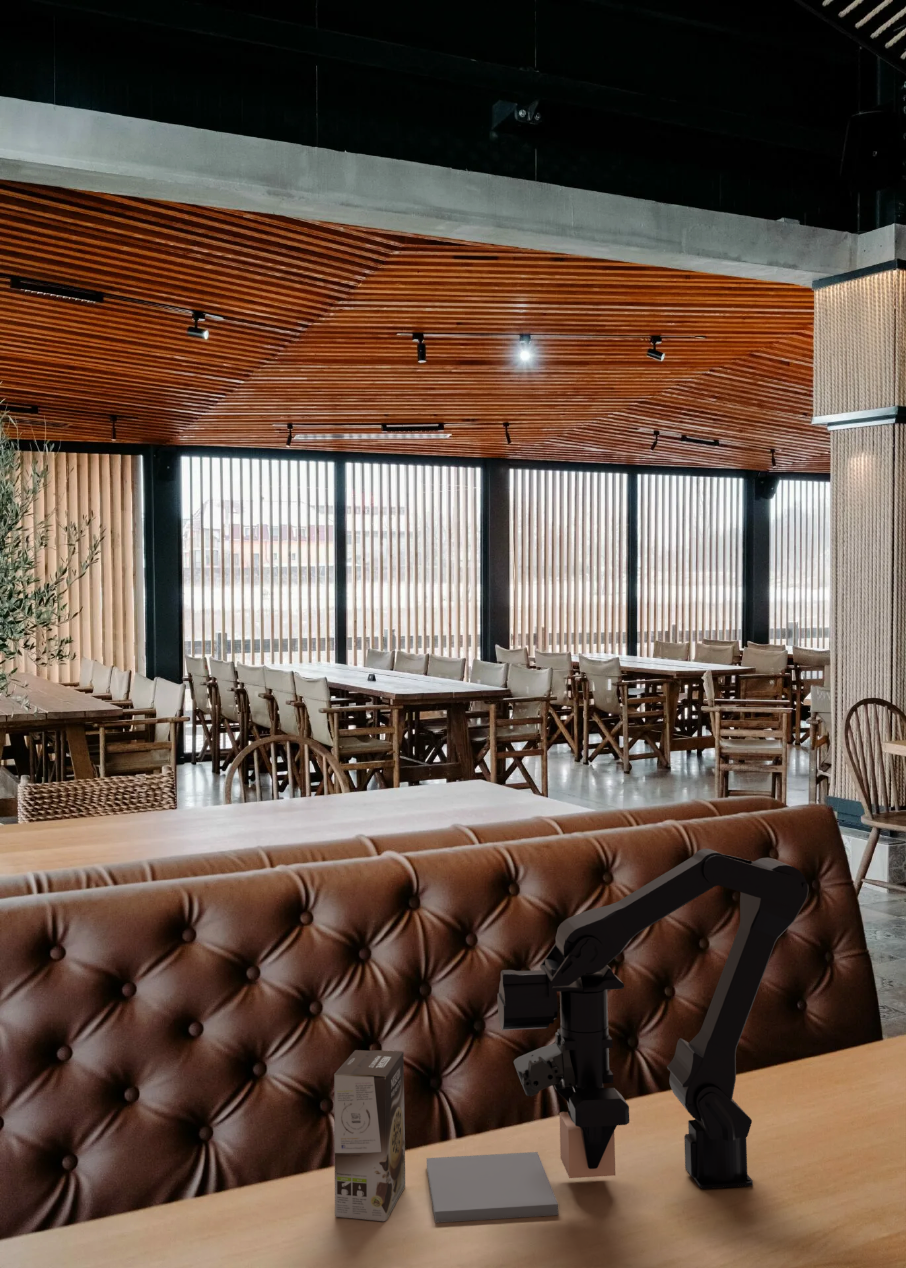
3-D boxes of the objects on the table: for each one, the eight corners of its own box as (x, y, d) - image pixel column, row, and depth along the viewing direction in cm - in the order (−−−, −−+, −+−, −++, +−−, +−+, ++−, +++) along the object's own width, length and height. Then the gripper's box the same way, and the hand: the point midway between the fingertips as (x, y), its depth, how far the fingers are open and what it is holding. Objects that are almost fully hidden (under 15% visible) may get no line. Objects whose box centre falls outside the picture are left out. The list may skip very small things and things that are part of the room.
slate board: (537, 1161, 137) (537, 1151, 137) (558, 1215, 123) (558, 1204, 123) (426, 1168, 136) (426, 1158, 136) (435, 1222, 122) (434, 1211, 122)
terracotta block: (604, 1155, 134) (603, 1110, 134) (615, 1175, 128) (614, 1128, 129) (560, 1158, 133) (559, 1112, 134) (569, 1178, 128) (568, 1130, 128)
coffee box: (388, 1222, 122) (386, 1076, 123) (333, 1218, 124) (331, 1073, 124) (407, 1186, 131) (405, 1049, 132) (356, 1182, 132) (354, 1047, 133)
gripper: (507, 1006, 140) (509, 1130, 139) (530, 1054, 122) (533, 1197, 121) (592, 1002, 141) (595, 1125, 140) (628, 1050, 123) (632, 1191, 122)
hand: (587, 1157), depth 131 cm, fingers closed on terracotta block, 5 cm apart
